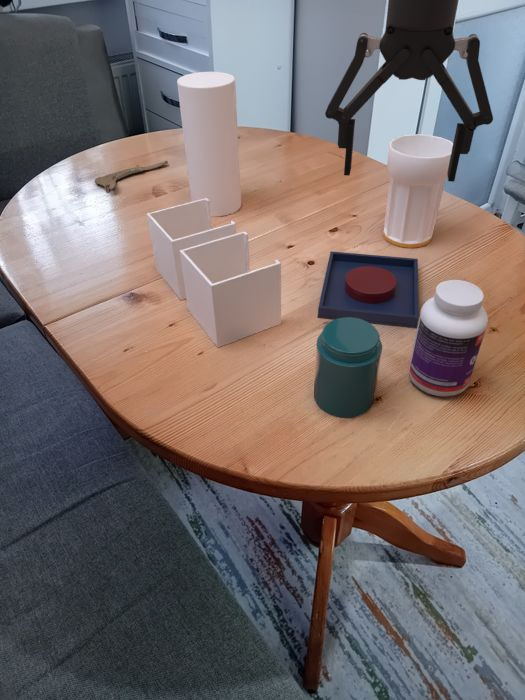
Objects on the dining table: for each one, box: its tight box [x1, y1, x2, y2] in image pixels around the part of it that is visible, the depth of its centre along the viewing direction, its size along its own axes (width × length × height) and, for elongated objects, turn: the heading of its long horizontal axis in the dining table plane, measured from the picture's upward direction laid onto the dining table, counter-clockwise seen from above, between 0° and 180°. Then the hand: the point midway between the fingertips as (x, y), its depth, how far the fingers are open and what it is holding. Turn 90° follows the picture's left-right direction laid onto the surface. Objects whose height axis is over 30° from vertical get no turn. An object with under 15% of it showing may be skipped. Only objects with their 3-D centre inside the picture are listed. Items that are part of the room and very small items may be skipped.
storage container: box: [146, 198, 282, 348], centre depth 86 cm, size 25×11×11 cm, turn 30°
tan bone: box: [94, 160, 169, 193], centre depth 128 cm, size 9×20×2 cm, turn 149°
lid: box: [345, 266, 397, 304], centre depth 89 cm, size 8×8×2 cm
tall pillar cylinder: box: [176, 71, 242, 218], centre depth 107 cm, size 11×11×25 cm
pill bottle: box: [408, 279, 489, 397], centre depth 69 cm, size 8×8×14 cm
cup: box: [382, 133, 453, 249], centre depth 98 cm, size 11×11×17 cm
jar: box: [313, 317, 383, 419], centre depth 68 cm, size 8×8×11 cm
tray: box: [317, 251, 420, 329], centre depth 89 cm, size 17×15×2 cm
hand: (398, 174), depth 72 cm, fingers open, 13 cm apart
